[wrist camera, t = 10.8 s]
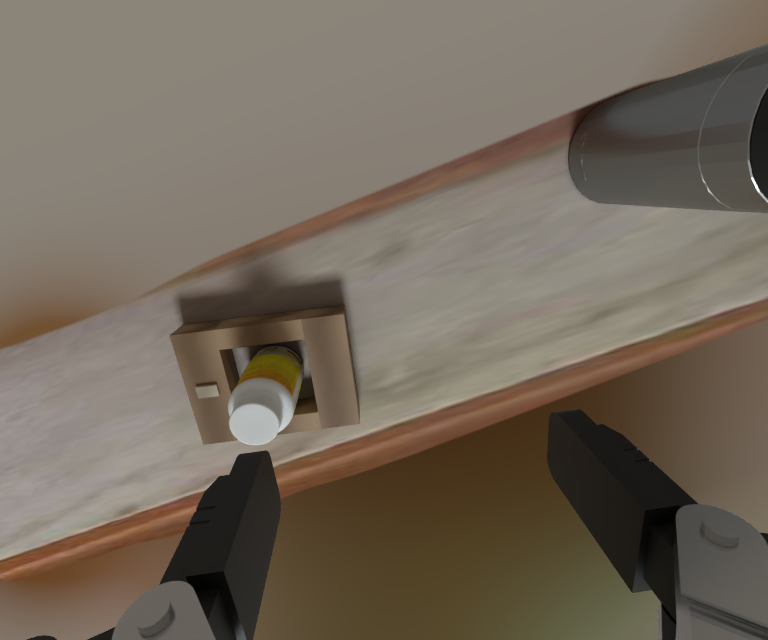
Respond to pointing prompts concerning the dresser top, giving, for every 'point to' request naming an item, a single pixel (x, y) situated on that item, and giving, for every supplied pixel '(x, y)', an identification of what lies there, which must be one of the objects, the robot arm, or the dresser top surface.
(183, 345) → the holder block
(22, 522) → the dresser top surface
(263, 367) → the supplement bottle
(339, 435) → the dresser top surface
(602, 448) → the robot arm
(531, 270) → the dresser top surface
